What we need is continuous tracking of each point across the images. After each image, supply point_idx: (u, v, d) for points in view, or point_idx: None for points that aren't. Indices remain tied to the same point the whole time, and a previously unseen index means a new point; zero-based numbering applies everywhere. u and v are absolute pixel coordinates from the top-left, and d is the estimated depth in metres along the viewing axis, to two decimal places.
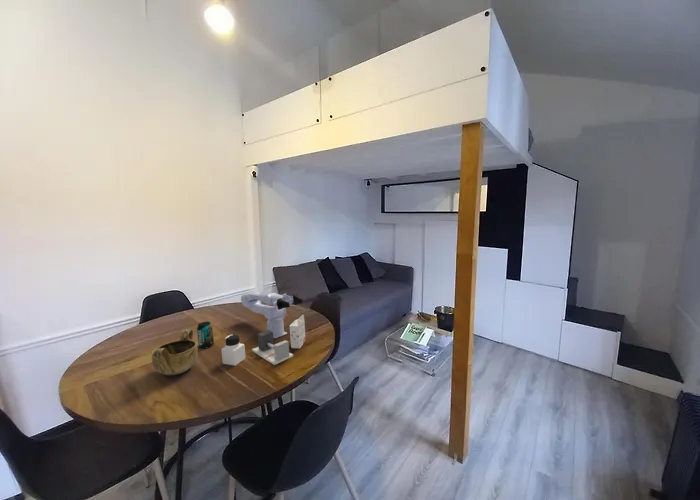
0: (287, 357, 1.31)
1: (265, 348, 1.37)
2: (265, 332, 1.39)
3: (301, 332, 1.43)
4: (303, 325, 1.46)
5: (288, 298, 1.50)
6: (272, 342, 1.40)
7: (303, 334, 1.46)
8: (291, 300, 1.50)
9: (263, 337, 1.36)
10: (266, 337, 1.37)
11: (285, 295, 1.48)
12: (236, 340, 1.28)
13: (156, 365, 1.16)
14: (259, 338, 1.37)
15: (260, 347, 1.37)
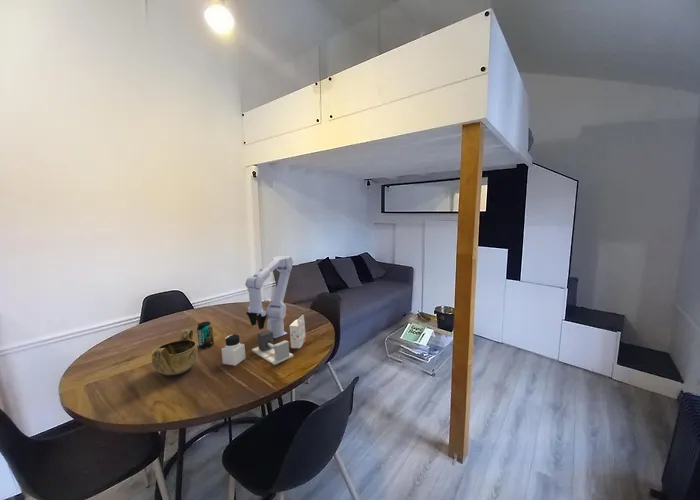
0: (287, 357, 1.31)
1: (265, 348, 1.37)
2: (265, 332, 1.39)
3: (301, 332, 1.43)
4: (303, 325, 1.46)
5: None
6: (272, 342, 1.40)
7: (303, 334, 1.46)
8: (259, 313, 1.40)
9: (263, 337, 1.36)
10: (266, 337, 1.37)
11: None
12: (236, 340, 1.28)
13: (156, 365, 1.16)
14: (259, 338, 1.37)
15: (260, 347, 1.37)
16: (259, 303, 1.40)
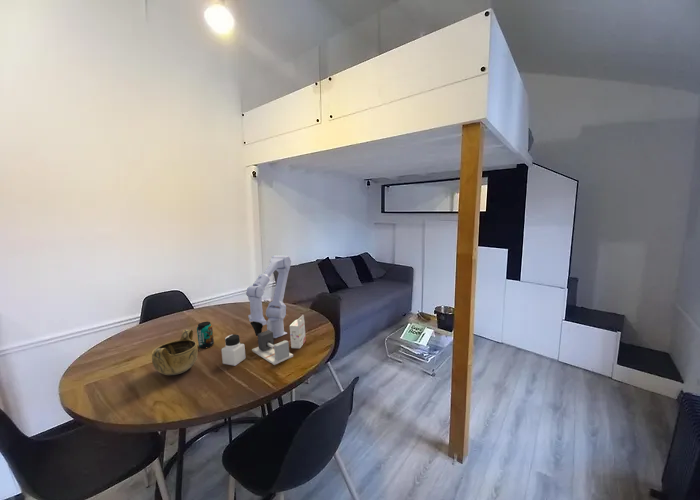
0: (287, 357, 1.31)
1: (265, 348, 1.37)
2: (265, 332, 1.39)
3: (301, 332, 1.43)
4: (303, 325, 1.46)
5: None
6: (272, 342, 1.40)
7: (303, 334, 1.46)
8: (260, 322, 1.41)
9: (263, 337, 1.36)
10: (266, 337, 1.37)
11: None
12: (236, 340, 1.28)
13: (156, 365, 1.16)
14: (259, 338, 1.37)
15: (260, 347, 1.37)
16: (260, 312, 1.41)
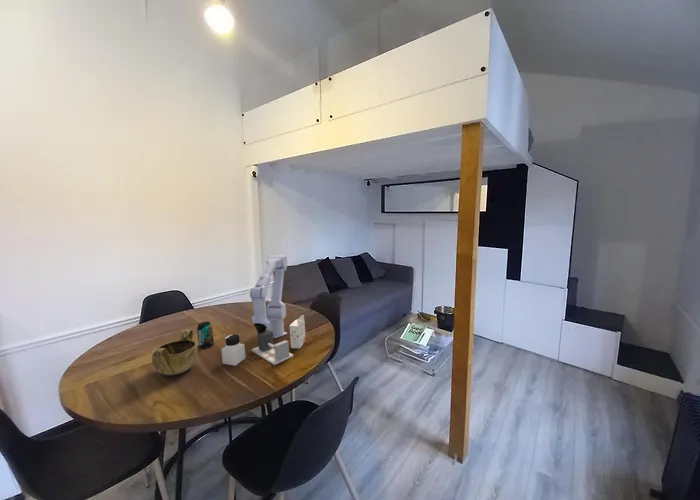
0: (287, 357, 1.31)
1: (265, 348, 1.37)
2: (265, 332, 1.39)
3: (301, 332, 1.43)
4: (303, 325, 1.46)
5: None
6: (272, 342, 1.40)
7: (303, 334, 1.46)
8: None
9: (263, 337, 1.36)
10: (266, 337, 1.37)
11: None
12: (236, 340, 1.28)
13: (156, 365, 1.16)
14: (259, 338, 1.37)
15: (260, 347, 1.37)
16: (263, 313, 1.38)
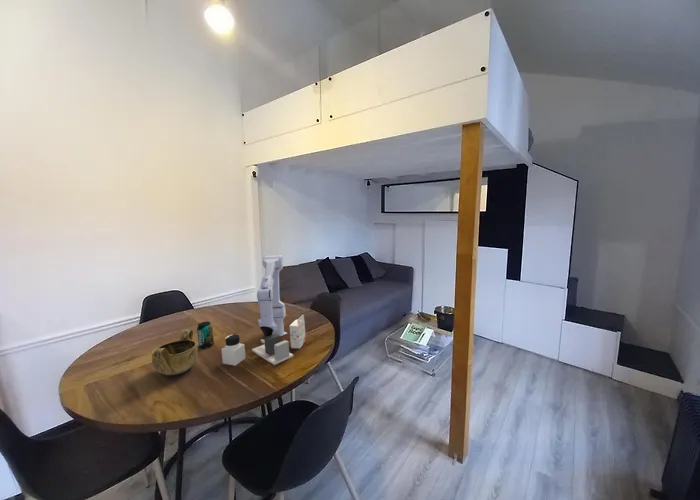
0: (287, 357, 1.31)
1: (272, 352, 1.33)
2: (272, 335, 1.35)
3: (301, 332, 1.43)
4: (303, 325, 1.46)
5: None
6: None
7: (303, 334, 1.46)
8: (270, 327, 1.34)
9: (270, 341, 1.31)
10: (273, 340, 1.33)
11: None
12: (236, 340, 1.28)
13: (156, 365, 1.16)
14: (266, 342, 1.33)
15: (267, 351, 1.33)
16: (270, 316, 1.34)
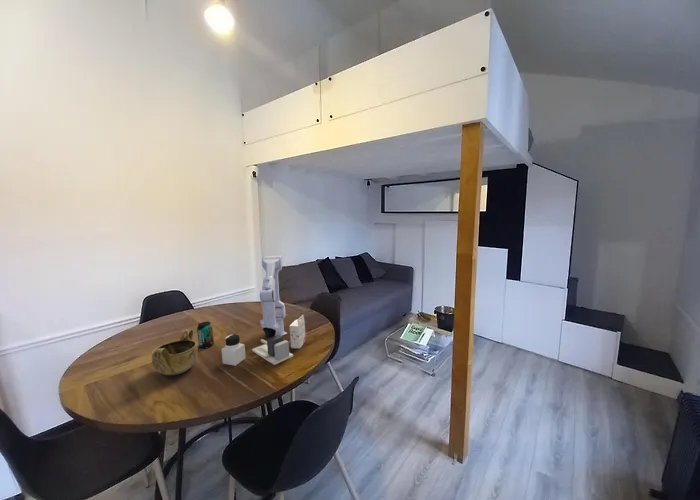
0: (287, 357, 1.31)
1: None
2: (275, 337, 1.33)
3: (301, 332, 1.43)
4: (303, 325, 1.46)
5: None
6: None
7: (303, 334, 1.46)
8: (273, 328, 1.33)
9: (273, 342, 1.30)
10: (276, 342, 1.31)
11: None
12: (236, 340, 1.28)
13: (156, 365, 1.16)
14: (268, 343, 1.31)
15: (269, 353, 1.31)
16: (273, 317, 1.32)
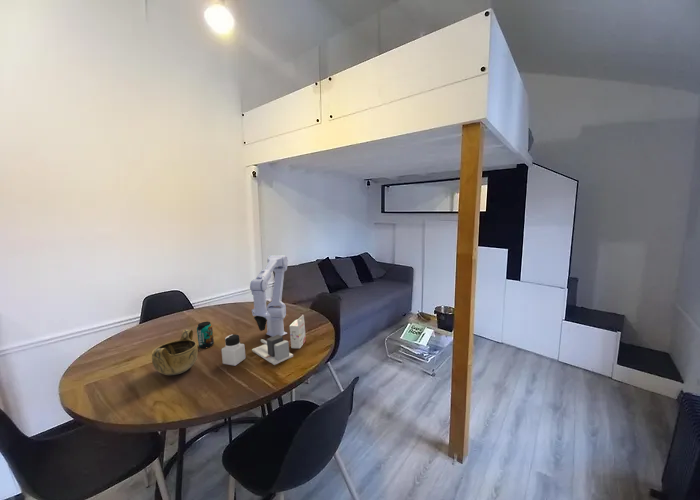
0: (287, 357, 1.31)
1: None
2: (275, 337, 1.33)
3: (301, 332, 1.43)
4: (303, 325, 1.46)
5: None
6: None
7: (303, 334, 1.46)
8: (264, 316, 1.38)
9: (273, 342, 1.30)
10: (276, 342, 1.31)
11: None
12: (236, 340, 1.28)
13: (156, 365, 1.16)
14: (268, 343, 1.31)
15: (269, 353, 1.31)
16: (264, 306, 1.37)
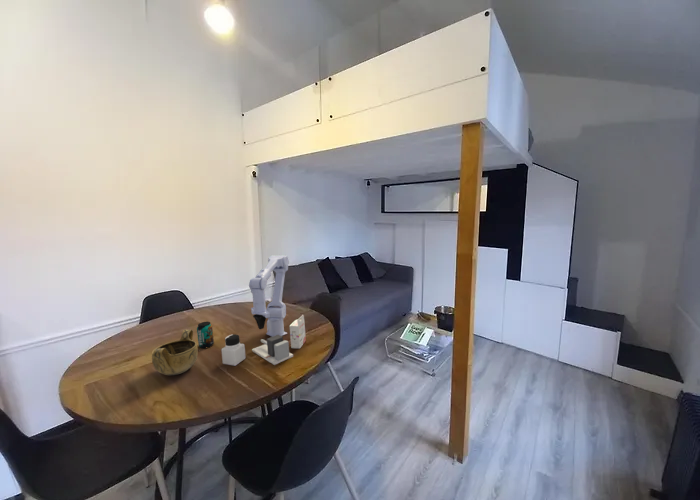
0: (287, 357, 1.31)
1: None
2: (275, 337, 1.33)
3: (301, 332, 1.43)
4: (303, 325, 1.46)
5: None
6: None
7: (303, 334, 1.46)
8: (263, 315, 1.38)
9: (273, 342, 1.30)
10: (276, 342, 1.31)
11: None
12: (236, 340, 1.28)
13: (156, 365, 1.16)
14: (268, 343, 1.31)
15: (269, 353, 1.31)
16: (263, 304, 1.38)
